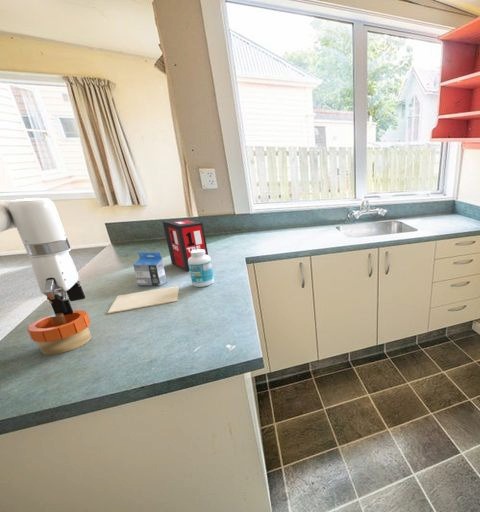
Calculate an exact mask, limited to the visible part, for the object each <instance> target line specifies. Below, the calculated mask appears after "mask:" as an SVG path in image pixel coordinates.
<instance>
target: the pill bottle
mask: <svg viewBox="0 0 480 512" xmlns="http://www.w3.org/2000/svg"><path fill="white" fill-rule="evenodd" d="M188 265H189V270H190V272H189V274H190V280H191V284H192V286H194V287H197V288H200V287H201V288H203V287H207V286H211V285H212V284H214V282H215V277H214V271H213V265H212V259H211V256H210V255H209V254H208V255H205V250H204V249H196V250H192V251H191V257H190V258H189V259H188Z"/></svg>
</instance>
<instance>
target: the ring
mask: <svg viewBox="0 0 480 512" xmlns="http://www.w3.org/2000/svg"><path fill="white" fill-rule="evenodd" d="M51 315H52V314H51ZM51 315H47V316H45V317H42V318H39V319H38V320H36V321H33V322H31V324H30V325H28V326H27V327H26V329H27V332H28V335H29V337H30V339H31V340H32V341H33V342H35V343H37V342H49V341H54V340H59V339H62V338H66V337H69V336H72V335H74V334H76V333H79V332H81V331H83V330H84V329H86V328H87V327H88V328H89V326H90V325H91V323H92V322H91V320H90V317H89V314H88V312H87V311H85V310H73V313H72V314H68V315H64V318H65V320H66V323H67V324H64V325H61V326H57V327H54V325H53V322H52V320H51V317H50V316H51Z"/></svg>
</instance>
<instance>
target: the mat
mask: <svg viewBox="0 0 480 512" xmlns="http://www.w3.org/2000/svg"><path fill="white" fill-rule="evenodd" d="M179 291H180V285H175V286H169V287H163V288H157V289H150V290H144V291H138V292H137V291H136V292H132V293H131V292H130V293H125V294H119V295H117V296H116V298H115V300H114V301H113V302H112V303H111V306H110V307H109V309H108V311H107V312H106V314H107V315H111V314H116V313H122V312H127V311H132V310H137V309H143V308H148V307H155V306H159V305H167V304H171V303H176V302H177V301H178V297H179V293H180V292H179Z"/></svg>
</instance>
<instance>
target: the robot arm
mask: <svg viewBox="0 0 480 512" xmlns="http://www.w3.org/2000/svg"><path fill="white" fill-rule="evenodd" d="M10 229H16V230H17V232H18V235H19V237H20V239H21V241H22V244H23V246H24V250H25V251H26V253H27V256H28V258H31V259H30V260H31V265H32V269H33V274H34V276H35V280H36V282H37V285H38V288H39V291H40V293H41V294H42V295H44V296H46V299H47V300H48V302H49V304H50V305H51V307H52V310H53V313H54V314H57V313H63V315H68V314H72V313H73V311H74V310H73V306H72V304H71V302H76V301H81V300H85V299H86V295H85V293H84V290H83V288H82V285H81V284H82V283H81V282H80V280H79V279H80V277H79V273H78V270H77V267H76V265H75V263H74V260H73V258H72V256H71V254H70V251H72V248H71V245H70V243H69V240H68V237H67V234H66V231H65V229H64V226H63V223H62V220H61V218H60V215H59V212H58V210H57V207H56V205H55V202H54V201H52V200H51V199H49V198H43V197H42V198H41V197H39V198H37V197H35V198H34V197H33V198H24V199H15V200H11V199H8V200H7V199H0V233H2V232H5V231H8V230H10ZM67 297H68V299H67Z"/></svg>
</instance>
